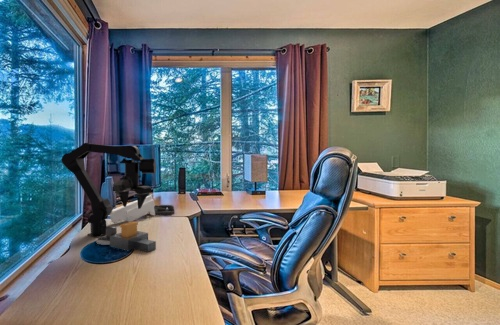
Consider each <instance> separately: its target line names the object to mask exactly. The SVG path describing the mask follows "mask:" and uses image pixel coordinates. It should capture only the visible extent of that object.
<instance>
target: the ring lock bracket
mask: <svg viewBox="0 0 500 325" xmlns="http://www.w3.org/2000/svg"><path fill="white" fill-rule="evenodd" d="M117 228H118V227H117V225H116V226H115V225H111V226H107V227H106V235H103V236H100V237H97V239H96V240H95V241H96V243H97V244H101V245H110V246H111V247H116V248H120V249H125V250H131V249H134V250H136V251H140V252H144V253H149V252H152V251H154V250H156V249H157V248H156V247H157V241H156V240H150V239H149V232H146V231H145V232H144V231H138V230H137V234H136V235H133V236H130V237H122V236H121V232H118V233H117V231H118V230H117ZM97 244H96V245H97ZM110 246H109V247H110ZM131 251H132V250H131Z"/></svg>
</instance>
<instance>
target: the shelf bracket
mask: <svg viewBox="0 0 500 325" xmlns="http://www.w3.org/2000/svg"><path fill="white" fill-rule="evenodd" d="M155 205H156V203H155V199H153V195H151V194H148V195H147V197H146V199H145V200H144V202H143V205H142V207H141V208H140V209H138V201H137V200H134V201H131V202H129V203H128V202H127V205H126V207H124V206H123V205H121V206H118V207H116V208H112V212H111V214H110V215H109V218H110V222H111V223H113V224H118V223H120V222H122V221H124V222H126V223H128V222H132V221H135V220H138V219H139V218H141V217H144V216H145V215H147V214H148V215H149V213H150V214H151V215H150V216H154V217H155V216H157V215H155V210H154V206H155Z"/></svg>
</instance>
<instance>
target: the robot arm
mask: <svg viewBox="0 0 500 325" xmlns="http://www.w3.org/2000/svg"><path fill="white" fill-rule="evenodd" d="M140 151H141V150H140V148H138V146H136V145H118V146H117V145H116V146H115V145H106V144H97V143H91V142H84V143H82V144H81V145H80V146H79V147H76V148H74V149H73V150H72V151H70V152H67V153H64V154H63V155H62V156H61V160H60V161H61V163H62V164H63V166H64V167H65V168H66V169H67V170H68V171H69V172H71V173H73V175H74V177H75V178H76V180H77V181H78V183H79V185H80V186H81V188H82V190H83V191H84V193H85V196H86V197H87V198H88V200H89V201H90V208H91V211H92V214H91V215H90V216H89V217H88V218H87V222H88V224H90V233H87V236H90V237H94V238H100V237H103V236H106V227H108V226H107V219H108V217H109V216H110V214H111V212H112V210H113V207H112V206H113V205H112V203H111V202H110V200H109V198H105V199H104V198H103V197H102V196H101V194H100V192H99V191H98V189H97V188H96V186H95V184H94V182H93V180H92V179H91V178H90V176H89V174H88V172H87V170H86V167H85V166H86V165H85V161H84V159H85V158H87V156H88V155H89V154H90V153H96V154H97V153H99V154H107V155H116V156H119V157H123V159H122V160H121V161H119V164H124V175H122V179H121V180H118V181H117V182H114V183H112V192H114V193H115V194H116V195H118V196H119V198H120V201H121V203H122V206H124V207H126V205H127V204H128V199H129V195H130V192H135V194H134V195H135V196H136V197H137V201H138V209H140V208H141V207H142V205H143V202H144V200H145V199H146V197H147V196H149V195H151V194H152V187H151V186H150V185H141V183H140V182H139V180H140V178H141V176H142V175H141V174H140V175H139V172H141V173H142V174H156V173H157V172H156V171H157V164H156V159H155V158H144V157H143V155H142V154H141V152H140ZM150 193H151V194H150Z"/></svg>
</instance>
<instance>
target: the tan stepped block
mask: <svg viewBox="0 0 500 325" xmlns="http://www.w3.org/2000/svg"><path fill="white" fill-rule="evenodd" d="M138 225H139V222H138V221H135V220H133V221H131V222H124V223H120V225H119V227H120V228H121V231H120V233H121V236H122V237H130V236H133V235H136V234H137V231H138Z"/></svg>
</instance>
